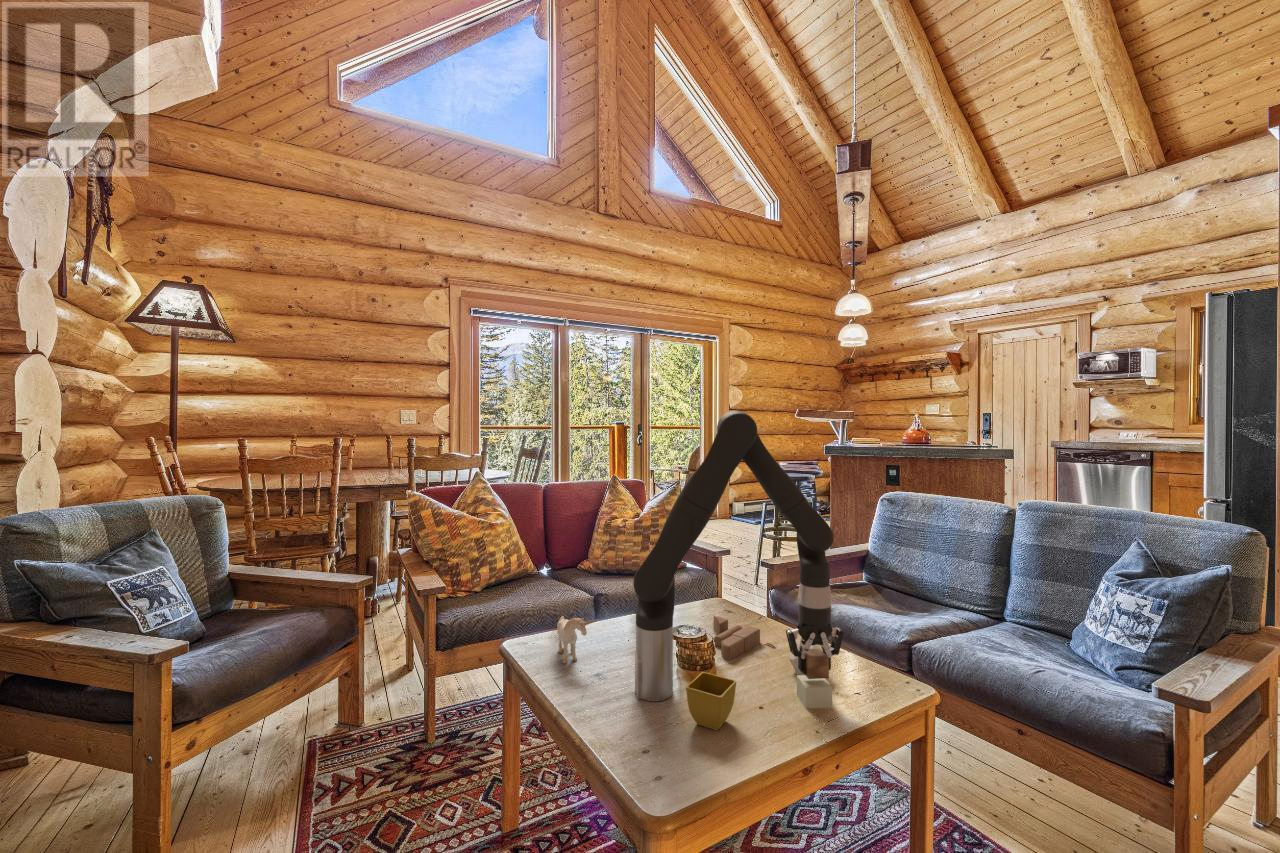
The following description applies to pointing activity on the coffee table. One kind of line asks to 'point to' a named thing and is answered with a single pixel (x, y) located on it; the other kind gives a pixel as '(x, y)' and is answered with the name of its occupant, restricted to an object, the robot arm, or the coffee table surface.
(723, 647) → the wooden block set
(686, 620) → the coffee table surface
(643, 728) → the coffee table surface
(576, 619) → the unicorn figurine
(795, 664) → the die
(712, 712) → the flower pot
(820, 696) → the sage block
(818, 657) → the walnut block
